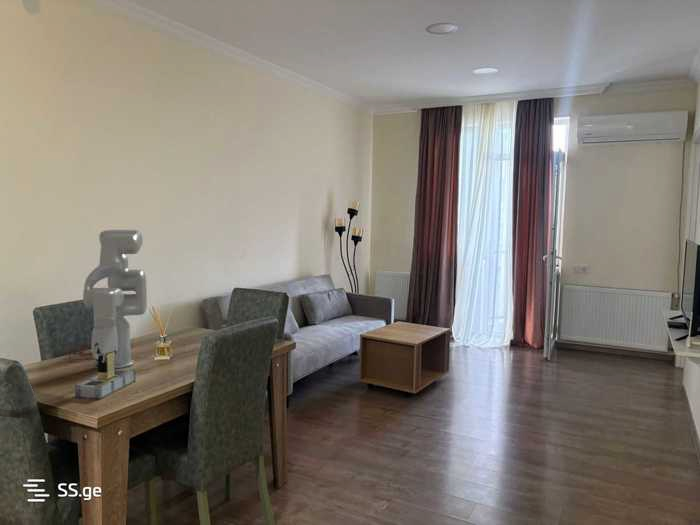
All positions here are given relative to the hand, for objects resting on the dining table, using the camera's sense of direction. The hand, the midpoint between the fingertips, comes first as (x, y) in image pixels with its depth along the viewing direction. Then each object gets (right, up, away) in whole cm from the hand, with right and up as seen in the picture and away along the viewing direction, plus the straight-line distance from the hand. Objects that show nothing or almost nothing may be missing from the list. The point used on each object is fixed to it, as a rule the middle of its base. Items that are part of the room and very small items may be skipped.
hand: (106, 370), depth 200 cm
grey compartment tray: (0, -7, +1) cm, 7 cm away
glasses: (-31, -4, +50) cm, 59 cm away
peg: (0, -3, 0) cm, 3 cm away
